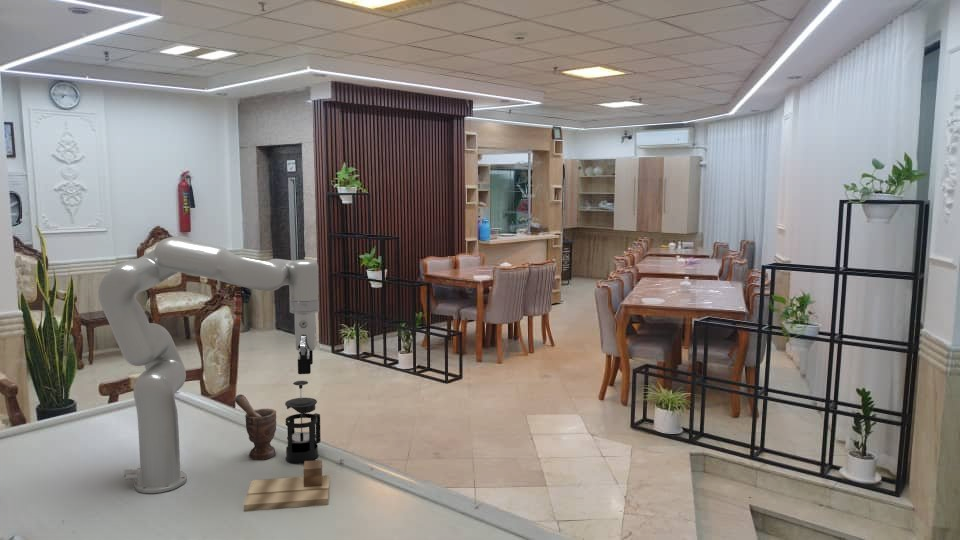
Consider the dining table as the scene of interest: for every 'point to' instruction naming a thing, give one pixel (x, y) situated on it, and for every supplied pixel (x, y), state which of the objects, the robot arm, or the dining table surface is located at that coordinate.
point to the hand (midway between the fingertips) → (305, 368)
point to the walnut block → (312, 473)
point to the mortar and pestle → (259, 428)
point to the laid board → (286, 499)
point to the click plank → (284, 485)
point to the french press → (301, 443)
